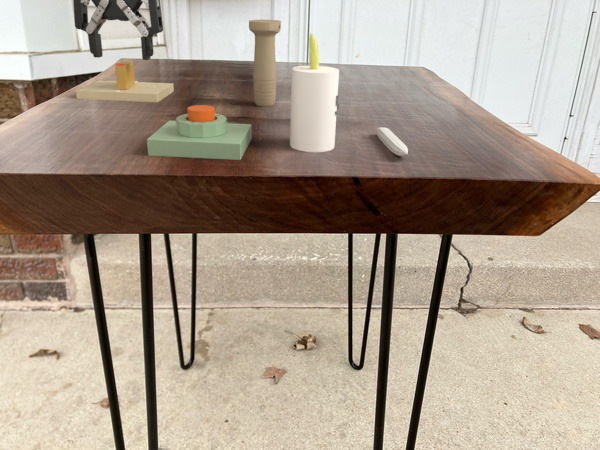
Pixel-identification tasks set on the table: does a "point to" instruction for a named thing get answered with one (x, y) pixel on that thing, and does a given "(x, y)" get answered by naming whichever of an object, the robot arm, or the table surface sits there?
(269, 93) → the handle
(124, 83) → the thumbturn
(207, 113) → the bell button
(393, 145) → the white faceted rod
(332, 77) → the candle
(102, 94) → the plate
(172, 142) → the green button mount
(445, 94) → the table surface
